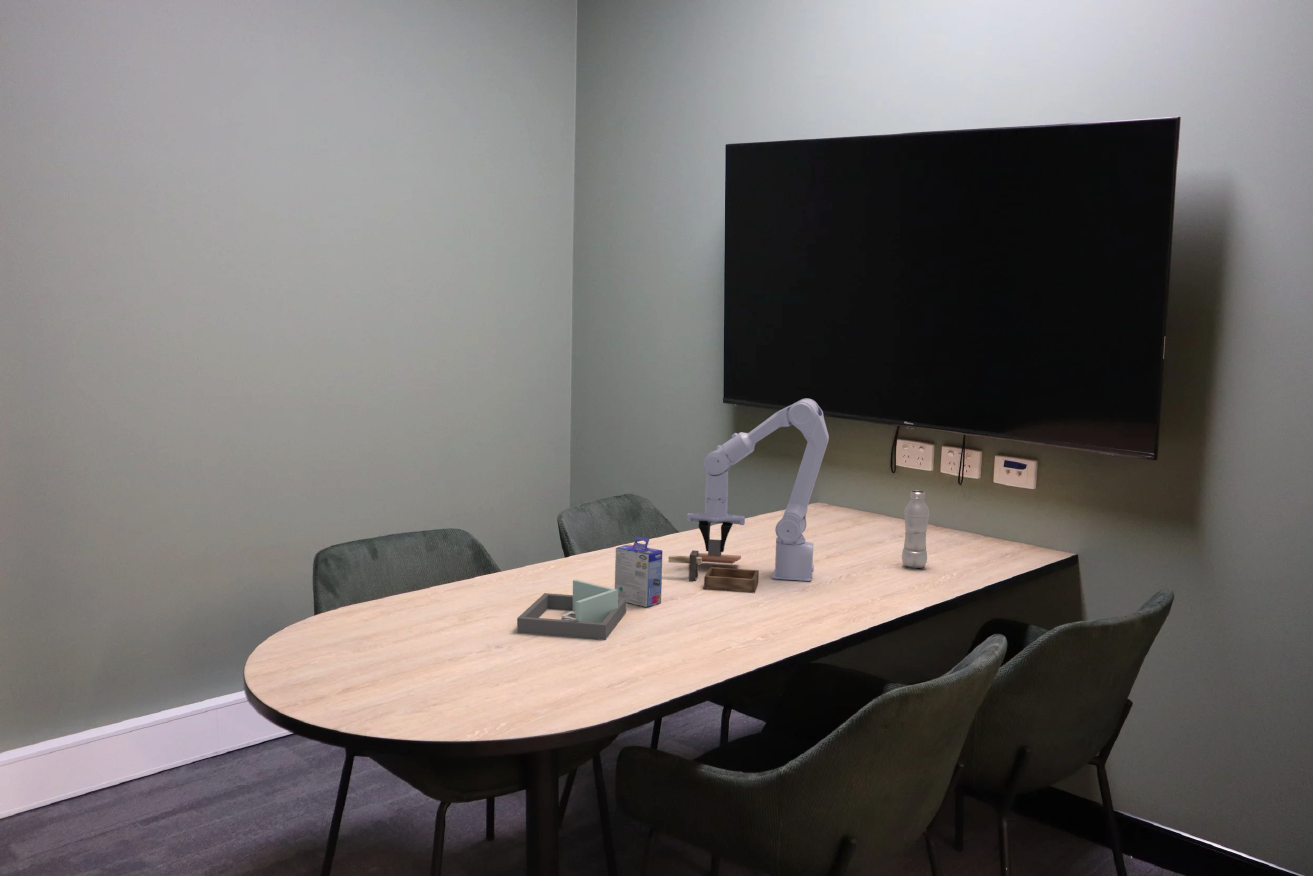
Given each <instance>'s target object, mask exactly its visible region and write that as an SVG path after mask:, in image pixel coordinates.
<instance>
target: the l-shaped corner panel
mask: <svg viewBox="0 0 1313 876" xmlns="http://www.w3.org/2000/svg"><path fill="white" fill-rule="evenodd" d="M572 595H573V610H569V611H568V612H565V613H564V614H563V613H562V614H561V619H560V620H571V621H579V622H580V621H583V622H596V623H602V622H603V620H604V619H605V618H606V617H607V615H608V614H609V613H610V612H611V610H614V609H617V608H618V590H617V589H615V588H612V587H608V586H603V585H600V584H595V583H591V582H587V581H584V580H579V579H573V580H572Z"/></svg>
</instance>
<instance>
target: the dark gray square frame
mask: <svg viewBox="0 0 1313 876" xmlns="http://www.w3.org/2000/svg"><path fill="white" fill-rule="evenodd" d="M548 609H552V610H566V611H573V594H561V593H560V594H559V593H551V592H550V593H547V592H544V593H543V594H542V595H541V596H539V598H537V599H536V600H535V601H534V602H533V603H531V604H530V606H529V607H528V608H526V609H525V610H524V611H523V612H522V613H521V614H520V615H519V616H518V617H517V618H516V621H517V622H516V624H517V625H516V632H517V633H518V634H532V635H544V636H554V637H555V636H556V637H565V638H568V637H569V638H579V639H590V640H591V639H592V640H604V641H606V640H607V639H608V637H609V636H610V635H611V633H612V632H613V631H614V629H615V628H616V626H617V625H618V624H619V623H620V621H621V620H622V618H623V617H624V616H625V615H626V614H627V602H626V599H618V608H617V609H614V610H611V612H610V613H609V614H608V615H607V617H606V618H605V619H604V620H603V622H602V623H596V622H583V621H580V622H579V621H571V620H561V619H558V618H557V619H556V618H554V619H553V618H546V617H545V618H544V617H543V618H542V617H541V616H542V615H543V614H544V613H545V612H546V611H547V610H548Z"/></svg>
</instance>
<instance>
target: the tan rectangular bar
mask: <svg viewBox="0 0 1313 876" xmlns="http://www.w3.org/2000/svg"><path fill="white" fill-rule="evenodd" d="M667 559H668V561H667V562H668V563H674V564H689V563H690V555H688V556H687V555H675V554H674V555H673V554H669V555H668V558H667ZM702 563H703V562H702V557H696V564H698V565H702Z"/></svg>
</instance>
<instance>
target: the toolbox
mask: <svg viewBox="0 0 1313 876" xmlns="http://www.w3.org/2000/svg"><path fill="white" fill-rule="evenodd" d="M699 553H700V552H699V550H691V551H690V554H689V556H690V563H689V566H688V567H689V570H688V573H689V575H688V581H689V582H693V581H695V582H696V581H697V579H698V577H699V564H696V557H698V554H699ZM759 574H760V570H758V569H747V568H746V569H743V568H730V567H717V566H716V567H714V566H709V567H708V569H707V571H706V573H705V574H704V577H703V590H713V591H725V590H727V591H726V592H739V591H741V592H742V593H753V592H754V593H756V590H757V588H758V586H759V585H758V584H759V581H760V580H759V578H760V577H759ZM741 592H740V593H741ZM754 593H753V594H754Z"/></svg>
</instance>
